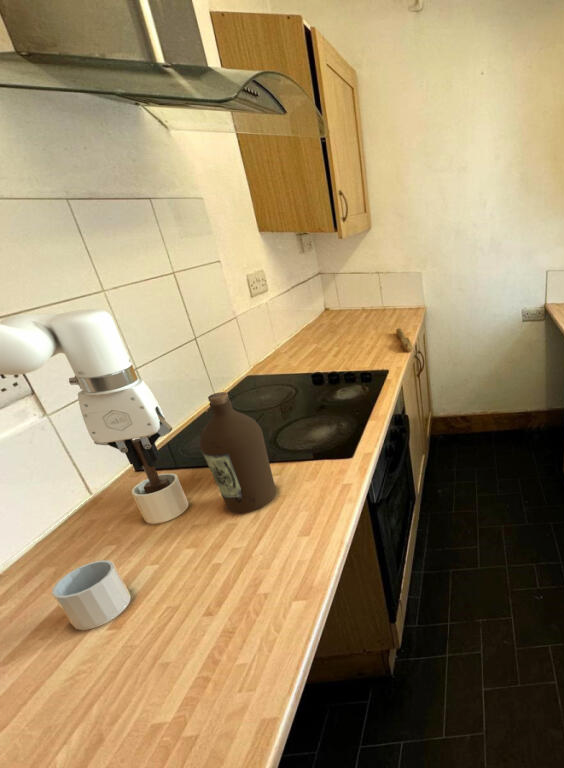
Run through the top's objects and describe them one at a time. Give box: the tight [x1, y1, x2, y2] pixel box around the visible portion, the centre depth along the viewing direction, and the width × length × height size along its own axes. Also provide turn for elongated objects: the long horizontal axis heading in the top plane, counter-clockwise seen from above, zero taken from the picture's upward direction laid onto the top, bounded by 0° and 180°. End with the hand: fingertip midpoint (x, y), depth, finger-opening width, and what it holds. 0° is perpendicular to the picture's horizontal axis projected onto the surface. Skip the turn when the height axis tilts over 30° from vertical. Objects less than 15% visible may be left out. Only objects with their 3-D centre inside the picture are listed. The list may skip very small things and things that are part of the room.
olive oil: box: [199, 391, 277, 514], centre depth 85 cm, size 11×11×25 cm
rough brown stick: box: [395, 327, 413, 353], centre depth 188 cm, size 3×3×30 cm
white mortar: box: [51, 559, 132, 631], centre depth 64 cm, size 7×7×7 cm
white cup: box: [131, 472, 189, 525], centre depth 85 cm, size 7×7×7 cm
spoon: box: [131, 438, 170, 494], centre depth 83 cm, size 4×2×14 cm, turn 110°
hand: (147, 464), depth 82 cm, fingers closed on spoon, 1 cm apart
